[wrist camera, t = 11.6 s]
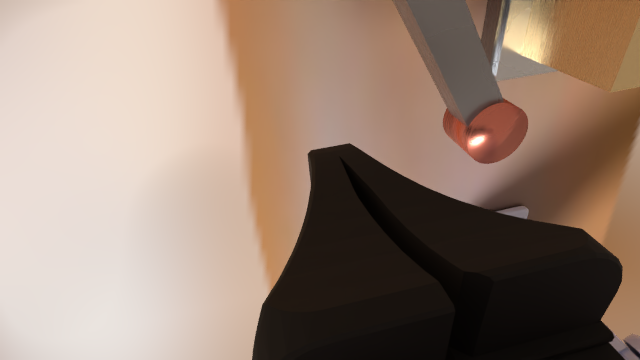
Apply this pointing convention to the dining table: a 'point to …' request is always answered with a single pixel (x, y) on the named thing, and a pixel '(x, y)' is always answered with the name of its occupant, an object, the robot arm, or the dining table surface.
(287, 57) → the dining table surface
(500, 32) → the press
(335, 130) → the dining table surface
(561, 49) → the housing
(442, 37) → the lever
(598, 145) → the dining table surface
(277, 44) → the dining table surface
